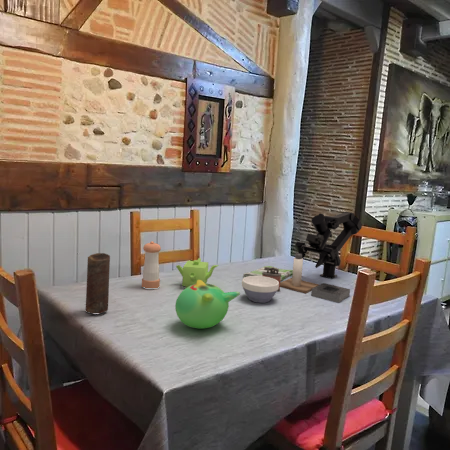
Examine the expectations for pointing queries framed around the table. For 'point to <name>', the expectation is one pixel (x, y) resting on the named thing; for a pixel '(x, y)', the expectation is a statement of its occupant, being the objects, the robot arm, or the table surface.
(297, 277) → the white bottle
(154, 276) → the pepper shaker
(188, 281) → the kettle
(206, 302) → the toy bird
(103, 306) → the candle
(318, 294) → the housing
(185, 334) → the table surface
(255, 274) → the dish towel
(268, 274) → the lighter
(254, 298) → the bowl
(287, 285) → the board
